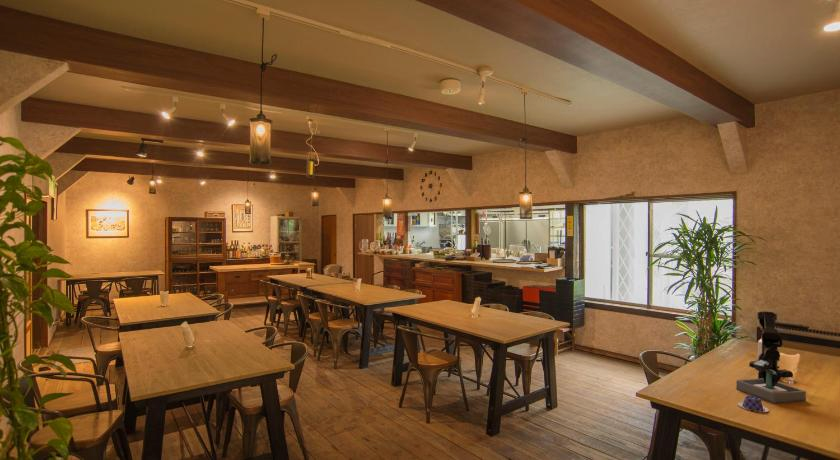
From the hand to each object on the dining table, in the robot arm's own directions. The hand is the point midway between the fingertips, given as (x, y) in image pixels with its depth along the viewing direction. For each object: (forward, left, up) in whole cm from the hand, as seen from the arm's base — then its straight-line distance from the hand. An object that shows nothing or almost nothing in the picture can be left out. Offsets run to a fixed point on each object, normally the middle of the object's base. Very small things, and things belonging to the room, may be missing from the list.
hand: (770, 385), depth 226 cm
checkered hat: (+25, +12, -6) cm, 28 cm away
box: (0, 0, -5) cm, 5 cm away
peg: (0, 0, -2) cm, 2 cm away
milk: (-33, -29, -5) cm, 44 cm away
